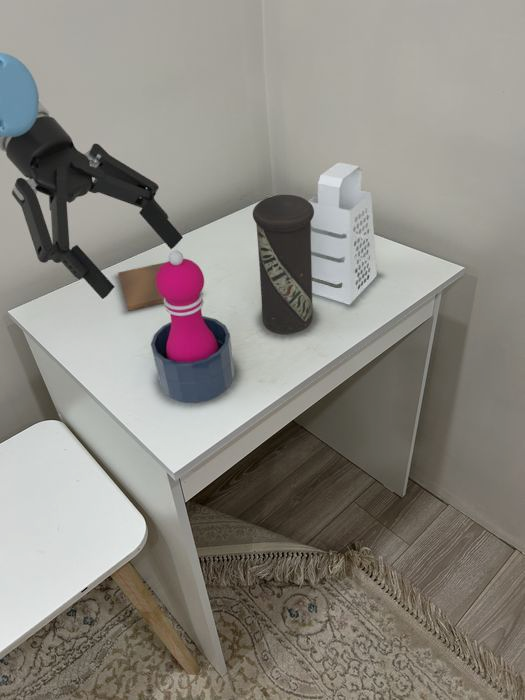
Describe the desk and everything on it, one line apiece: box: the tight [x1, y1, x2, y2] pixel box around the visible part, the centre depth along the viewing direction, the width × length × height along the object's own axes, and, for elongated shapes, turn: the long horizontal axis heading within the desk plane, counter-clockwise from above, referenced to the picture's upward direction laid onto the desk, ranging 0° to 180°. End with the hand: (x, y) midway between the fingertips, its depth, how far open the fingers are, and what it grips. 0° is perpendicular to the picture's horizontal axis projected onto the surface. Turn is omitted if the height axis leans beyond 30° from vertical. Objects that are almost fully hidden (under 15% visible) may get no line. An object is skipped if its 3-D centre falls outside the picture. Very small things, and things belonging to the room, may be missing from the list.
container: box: [252, 194, 314, 335], centre depth 82 cm, size 9×9×20 cm
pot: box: [150, 315, 235, 404], centre depth 76 cm, size 11×11×7 cm
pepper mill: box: [156, 250, 219, 362], centre depth 72 cm, size 7×7×20 cm
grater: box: [307, 162, 378, 305], centre depth 90 cm, size 10×10×20 cm
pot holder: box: [117, 261, 167, 312], centre depth 98 cm, size 12×12×1 cm
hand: (145, 267), depth 71 cm, fingers open, 13 cm apart
